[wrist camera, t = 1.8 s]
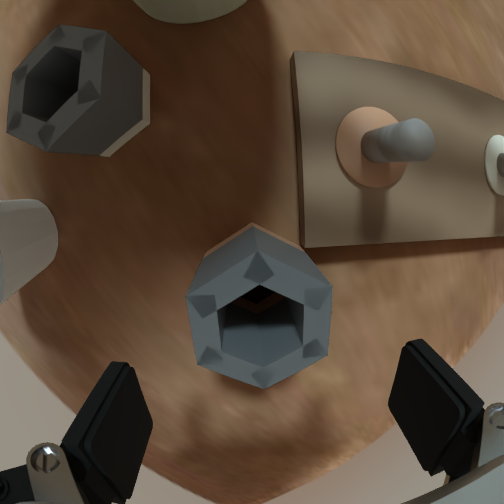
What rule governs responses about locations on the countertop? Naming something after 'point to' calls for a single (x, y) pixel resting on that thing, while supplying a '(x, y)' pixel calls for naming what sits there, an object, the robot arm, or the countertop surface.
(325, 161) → the pin board
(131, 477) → the robot arm
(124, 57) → the cream-banded sleeve
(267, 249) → the terracotta-banded sleeve
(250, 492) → the countertop surface
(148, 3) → the reusable coffee cup
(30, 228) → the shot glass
